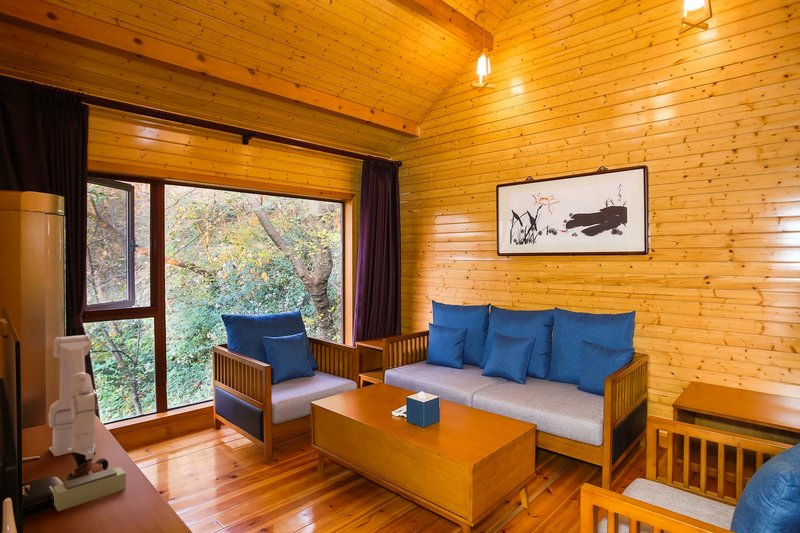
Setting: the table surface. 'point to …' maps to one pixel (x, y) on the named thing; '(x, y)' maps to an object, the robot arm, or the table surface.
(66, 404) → the robot arm
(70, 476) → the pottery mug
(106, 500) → the table surface
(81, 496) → the deck bay
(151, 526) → the table surface
